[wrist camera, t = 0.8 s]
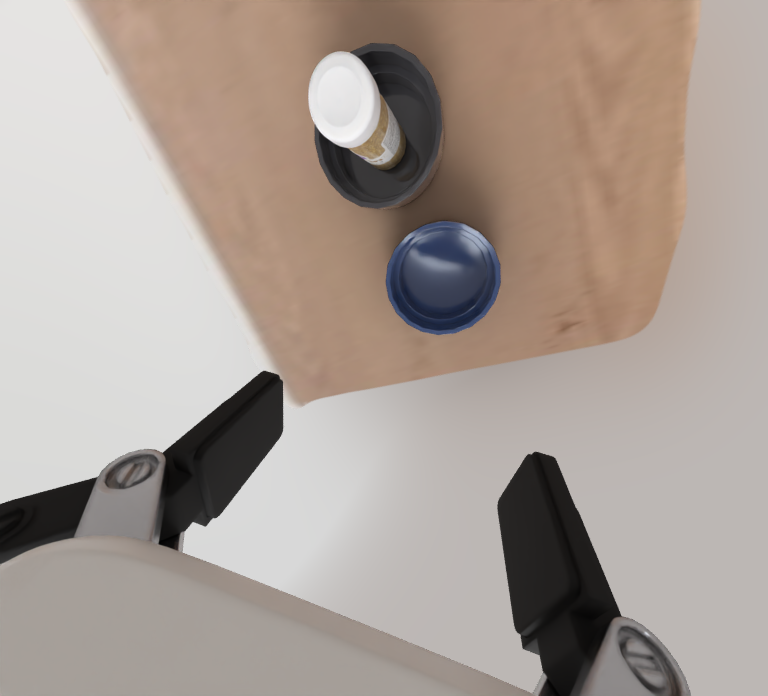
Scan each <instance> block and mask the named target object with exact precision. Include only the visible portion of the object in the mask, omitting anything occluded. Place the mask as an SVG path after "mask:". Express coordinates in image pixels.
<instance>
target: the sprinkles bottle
mask: <svg viewBox="0 0 768 696" xmlns="http://www.w3.org/2000/svg"><path fill="white" fill-rule="evenodd" d="M308 102H309V109H310V113H311V116H312V119H313V121H314V123H315V125H316V127H317V128H318V130H319V131H320V132H321V133H322V134H323V135H324V136H325V137H326V138H327V139H329V140H330V141H332V142H333V143H335V144H337V145H339V146H341V147H345V148H348V149H350V150H351V151H352V152H353V153H355V154H356V155H358V156H360V157H361V158H363V159H364V160H365V161H367V162H369V163H370V164H371V165H372V166H374V167H375V168H377V169H380V170H389V169H392V168H393V167H395V166H396V165H397V164H398V163H399V162H400V161H401V159H402V157H403V155H404V153H405V148H406V139H405V134H404V132H403V129H402V127H401V126H400V125H399V123H398V122H397V120H396V118H395V117H394V115H393V113H392V111H391V110H390V108H389V106H388V105H387V103H386V102H385V100H384V98H383V97H382V95H381V94H380V93H379V90H378V87H377V84H376V82H375V80H374V78H373V76H372V75H371V73H370V72H369V70H368V68H367V67H366V66H365V64H364V63H363V62H362V61H361V60H360V59H359V58H358V57H357V56H355V55H353V54H351V53H348V52H343V51H338V52H334V53H331V54H329V55H327V56H326V57H324V58H323V59H322V60H321V61H320V62H319V64H318V65H317V66H316V68H315V70H314V72H313V74H312V77H311V80H310V84H309V91H308Z"/></svg>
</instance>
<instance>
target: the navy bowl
mask: <svg viewBox="0 0 768 696" xmlns="http://www.w3.org/2000/svg"><path fill="white" fill-rule="evenodd" d="M500 283H501V275H500V263H499V260H498V258H497V255H496V252H495V250H494V247H493V246H492V245H491V244H490V243H489V241H488V240H487V239H486V238H485V237H484V236H483V235H482V234H481V233H480V232H479V231H477V230H476V229H474V228H472V227H470V226H468V225H466V224H464V223H462V222H456V221H448V220H443V221H439V222H434V223H429V224H425V225H423V226H421V227H420V228H418V229H416V230H415V231H413V232H411V233H409V234H408V235H407V236H406V237H405V238H404V239H403V240H402V241H401V243H400V244H399V245H398V246H397V247H396V248H395V250H394V252H393V254H392V257H391V259H390V261H389V263H388V267H387V275H386V287H387V292H388V297H389V300H390V302H391V304H392V306H393V308H394V309H395V311H396V313H397V314H398V315H399V316H400V317H401V318H402V319H403V320H404V321H405V322H406V323H407V324H408V325H410V326H412V327H414V328H416V329H418V330H420V331H422V332H426V333H431V334H436V335H442V334H453V333H457V332H459V331H462V330H464V329H467V328H470V327H471V326H473V325H474V324H475V323H476V322H478V321H479V320H480V319H482V318H483V317H484V316H485V315H486V313H487V312H488V311H489V309H490V308H491V306H492V305H493V304H494V302H495V300H496V297H497V294H498V291H499V287H500Z"/></svg>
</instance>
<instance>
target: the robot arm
mask: <svg viewBox="0 0 768 696" xmlns="http://www.w3.org/2000/svg"><path fill="white" fill-rule="evenodd" d="M282 432H283V381H282V380H281V379H280V377H279V375H277V374H274V373H271V372H267V371H262V372H261V373H260V374H258V376H256V377H255V378H254V379H252V380H251V381H250V382H249V383H248V384H246V385H245V386H244V387H243V388H242V389H241V390H239V391H238V392H237V393H235V395H233V396H232V397H231V398H229V399H228V400H226V401H225V402H224V403H222V404H221V405H220V406H219V407H217V408H216V409H215V410H214V411H213V412H212V413H210V414H209V415H208V416H207V417H205V418H204V419H203V420H202V421H201V422H199V423H198V424H197V425H196V426H194V427H193V428H192V429H191V430H190V431H188V432H187V433H186V434H185V435H184V436H182V437H181V438H180V439H179V440H178V441H176V442H175V443H174V444H173V445H171V446H170V447H169V448H168V449H167V450H166V451H164V452H163V453H162V452H159V451H157V450H152V449H144V450H137V451H134V452H130V453H127V454H125V455H123V456H121V457H119V458H117V459H115V460H114V461H113V462H111V463H109V464H108V465H107V466H106V467H105V468H104V469H103V470H102V471H101V473H100V475H99V476H98V477H96V478H92V479H89V480H85V481H81V482H78V483H74V484H70V485H66V486H63V487H59V488H56V489H52V490H48V491H44V492H40V493H37V494H33V495H30V496H26V497H22V498H18V499H15V500H11V501H8V502H5V503H2V504H0V696H691V694H690V690H689V687H688V684H687V681H686V679H685V676H684V674H683V673H682V671H681V669H680V667H679V665H678V663H677V662H676V660H675V659H674V658H673V656H672V655H671V653H670V652H669V651H668V649H667V648H666V647H665V646H664V645H663V644H662V642H661V641H660V640H659V639H658V638H657V637H656V636H655V635H654V634H653V633H652V632H650V631H649V630H648V629H646V628H645V627H644V626H643V625H642V624H640V623H638V622H636V621H635V620H633V619H630V618H626V617H622V616H621V614H620V611H619V609H618V606H617V604H616V602H615V599H614V597H613V594H612V592H611V589H610V587H609V584H608V582H607V580H606V577H605V575H604V572H603V570H602V568H601V565H600V563H599V560H598V558H597V555H596V553H595V551H594V548H593V546H592V543H591V541H590V538H589V536H588V533H587V531H586V529H585V526H584V524H583V521H582V519H581V517H580V514H579V512H578V510H577V509H576V507H575V505H574V503H573V500H572V498H571V495H570V493H569V490H568V488H567V485H566V483H565V480H564V478H563V475H562V473H561V471H560V468H559V466H558V463H557V461H556V459H555V458H554V457H552V456H549V455H546V454H542V453H539V452H534V453H533V454H532V455H531V454H528V455H527V456H526V457H525V459H524V460H523V462H522V464H521V465H520V467H519V468H518V470H517V472H516V473H515V475H514V476H513V478H512V479H511V481H510V483H509V484H508V486H507V488H506V489H505V491H504V492H503V494H502V495H501V497H500V499H499V501H498V516H499V523H500V530H501V537H502V544H503V551H504V558H505V565H506V572H507V579H508V586H509V592H510V600H511V606H512V614H513V620H514V626H515V629H516V631H517V633H519V634H521V641H522V647H523V649H525V650H527V651H530V652H533V653H535V654H538V655H540V659H541V664H542V669H543V674H542V676H541V678H540V680H539V682H538V684H537V686H536V688H535V690H534V692H533V694H532V693H529V692H527V691H525V690H522V689H520V688H518V687H515V686H513V685H511V684H509V683H506V682H504V681H501V680H499V679H497V678H495V677H492V676H490V675H488V674H485V673H483V672H480V671H478V670H475V669H473V668H471V667H468V666H465V665H463V664H461V663H458V662H456V661H453V660H451V659H448V658H446V657H443V656H441V655H439V654H436V653H434V652H431V651H429V650H426V649H424V648H422V647H419V646H417V645H414V644H412V643H409V642H407V641H404V640H402V639H399V638H397V637H394V636H392V635H390V634H387V633H385V632H382V631H379V630H377V629H375V628H372V627H370V626H367V625H365V624H362V623H360V622H357V621H355V620H352V619H350V618H347V617H345V616H342V615H340V614H337V613H335V612H332V611H330V610H327V609H325V608H322V607H320V606H318V605H315V604H312V603H310V602H308V601H305V600H302V599H300V598H297V597H295V596H293V595H290V594H288V593H285V592H282V591H280V590H277V589H275V588H272V587H270V586H267V585H265V584H262V583H260V582H257V581H254V580H252V579H250V578H247V577H245V576H242V575H240V574H237V573H234V572H232V571H229V570H227V569H224V568H221V567H219V566H217V565H214V564H211V563H209V562H206V561H203V560H200V559H198V558H195V557H193V556H190V555H187V554H184V553H182V551H183V540H184V531H186V529H187V528H188V527H189V526H190V524H191V523H192V522H195V523H198V524H200V525H203V526H207V524H208V523H209V522H210V520H211V519H212V518H217V517H218V516H219V515H220V514H221V513H222V512H223V510H224V509H225V508H226V507H227V505H228V504H229V503H230V502H231V500H232V499H233V498H234V496H235V495H236V494H237V493H238V491H239V490H240V489H241V487H242V486H243V485H244V483H245V482H246V481H247V480H248V478H249V477H250V476H251V474H252V473H253V472H254V471H255V469H256V468H257V467H258V465H259V464H260V463H261V461H262V460H263V459H264V458H265V456H266V455H267V454H268V452H269V451H270V450H271V449H272V447H273V446H274V445H275V443H276V442H277V441H278V440H279V438H280V437H281V434H282Z"/></svg>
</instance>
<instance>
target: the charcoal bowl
mask: <svg viewBox="0 0 768 696" xmlns="http://www.w3.org/2000/svg"><path fill="white" fill-rule="evenodd" d="M350 53H351V54H353V55H355V56H357V57H358V58H359V59H360V60H361V61H362V62H363V63H364V64H365V66H366V67H367V68H368V70H369V72H370V73H371V75H372V76H373V78H374V80H375V82H376V84H377V87H378V90H379V93H380V94H381V95H382V97H383V98H384V100H385V102H386V103H387V105H388V106H389V108H390V110H391V111H392V113H393V115H394V117H395V118H396V120H397V122H398V123H399V125H400V126H401V127H402V129H403V132H404V134H405V139H406V148H405V153H404V155H403V157H402V159H401V161H400V162H399V163H398V164H397V165H396V166H395V167H393V168H392V169H389V170H380V169H377V168H375V167H374V166H372V165H371V164H370V163H369V162H367V161H365V160H364V159H363V158H361V157H360V156H358V155H356V154H355V153H353V152H352V151H351V150H350V149H348V148H345V147H341V146H339V145H337V144H335V143H333V142H332V141H330V140H329V139H327V138H326V137H325V136H324V135H323V134H322V133H321V132H320V131H319V130H318V128H317V127H316V125H315V145H316V149H317V153H318V157H319V162H320V165H321V167H322V169H323V171H324V173H325V174H326V176H327V178H328V180H329V182H330V184H331V185H332V186H333V187H334V188H335V189H336V190H337V191H338V192H339V193H340V194H341V195H342V196H343V197H344V198H345V199H347V200H349V201H351V202H353V203H355V204H357V205H359V206H361V207H368V208H375V209H386V210H389V209H393V208H397V207H402V206H405V205H406V204H408V203H409V202H411V201H412V200H414V199H416V198H417V197H418V196H420V194H421V193H422V192H423V191H424V190H425V189H426V187H427V186H428V185H429V184H430V183H431V181H432V179H433V177H434V175H435V173H436V171H437V168H438V166H439V164H440V162H441V156H442V151H443V145H444V129H443V117H442V110H441V102H440V98H439V95H438V92H437V90H436V87H435V85H434V82H433V79H432V77H431V75H430V73H429V72H428V71H427V69H426V68H425V67H424V66H423V65H422V63H421V62H420V61H419V60H418V58H417V57H416V56H415V55H414V54H412V53H410V52H408V51H406V50H404V49H402V48H401V47H399V46H397V45H395V44H380V43H372V44H371V43H370V44H368V45H366V46H363V47H361V48H359V49H356V50H354V51H352V52H350Z"/></svg>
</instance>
